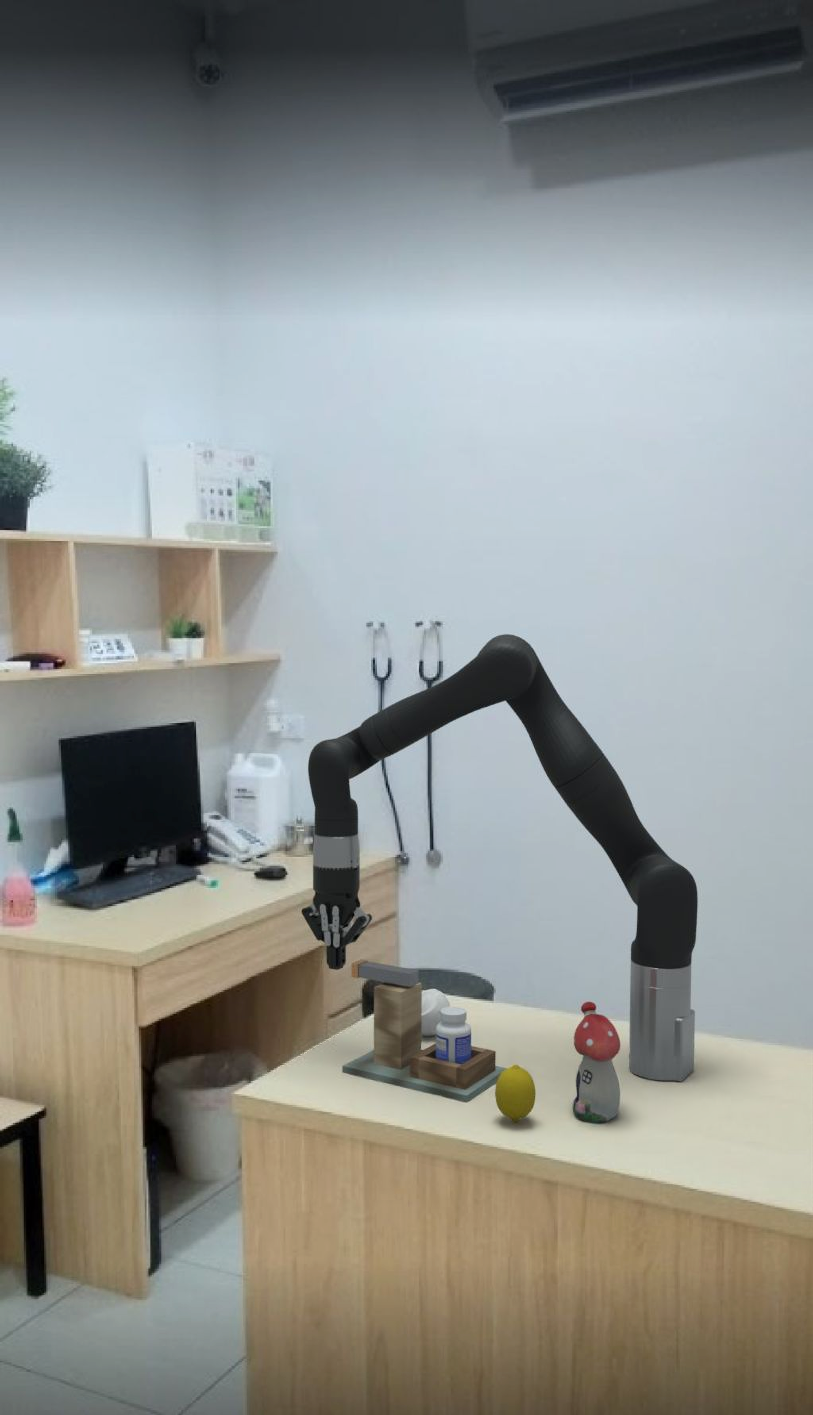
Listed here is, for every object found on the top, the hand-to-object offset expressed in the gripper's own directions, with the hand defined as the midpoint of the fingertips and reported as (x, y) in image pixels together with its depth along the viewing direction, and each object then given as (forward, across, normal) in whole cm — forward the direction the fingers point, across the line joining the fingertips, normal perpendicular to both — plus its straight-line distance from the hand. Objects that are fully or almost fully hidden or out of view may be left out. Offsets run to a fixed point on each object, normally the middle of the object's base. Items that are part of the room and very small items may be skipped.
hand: (336, 968), depth 185 cm
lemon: (+14, +37, -9) cm, 41 cm away
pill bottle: (+13, +22, 0) cm, 26 cm away
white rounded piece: (+14, +8, +16) cm, 23 cm away
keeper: (0, +9, 0) cm, 10 cm away
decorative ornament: (+14, +45, 0) cm, 47 cm away
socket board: (+14, +17, 0) cm, 22 cm away
